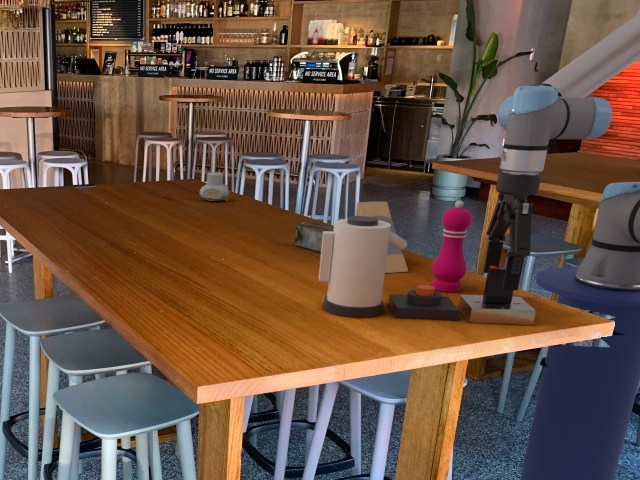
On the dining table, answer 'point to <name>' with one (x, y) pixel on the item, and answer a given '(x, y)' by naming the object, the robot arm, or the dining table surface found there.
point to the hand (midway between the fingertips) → (499, 281)
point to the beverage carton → (310, 235)
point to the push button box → (423, 306)
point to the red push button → (425, 290)
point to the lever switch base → (496, 311)
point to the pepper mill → (452, 250)
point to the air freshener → (214, 187)
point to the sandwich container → (382, 213)
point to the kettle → (356, 265)
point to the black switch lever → (496, 287)
